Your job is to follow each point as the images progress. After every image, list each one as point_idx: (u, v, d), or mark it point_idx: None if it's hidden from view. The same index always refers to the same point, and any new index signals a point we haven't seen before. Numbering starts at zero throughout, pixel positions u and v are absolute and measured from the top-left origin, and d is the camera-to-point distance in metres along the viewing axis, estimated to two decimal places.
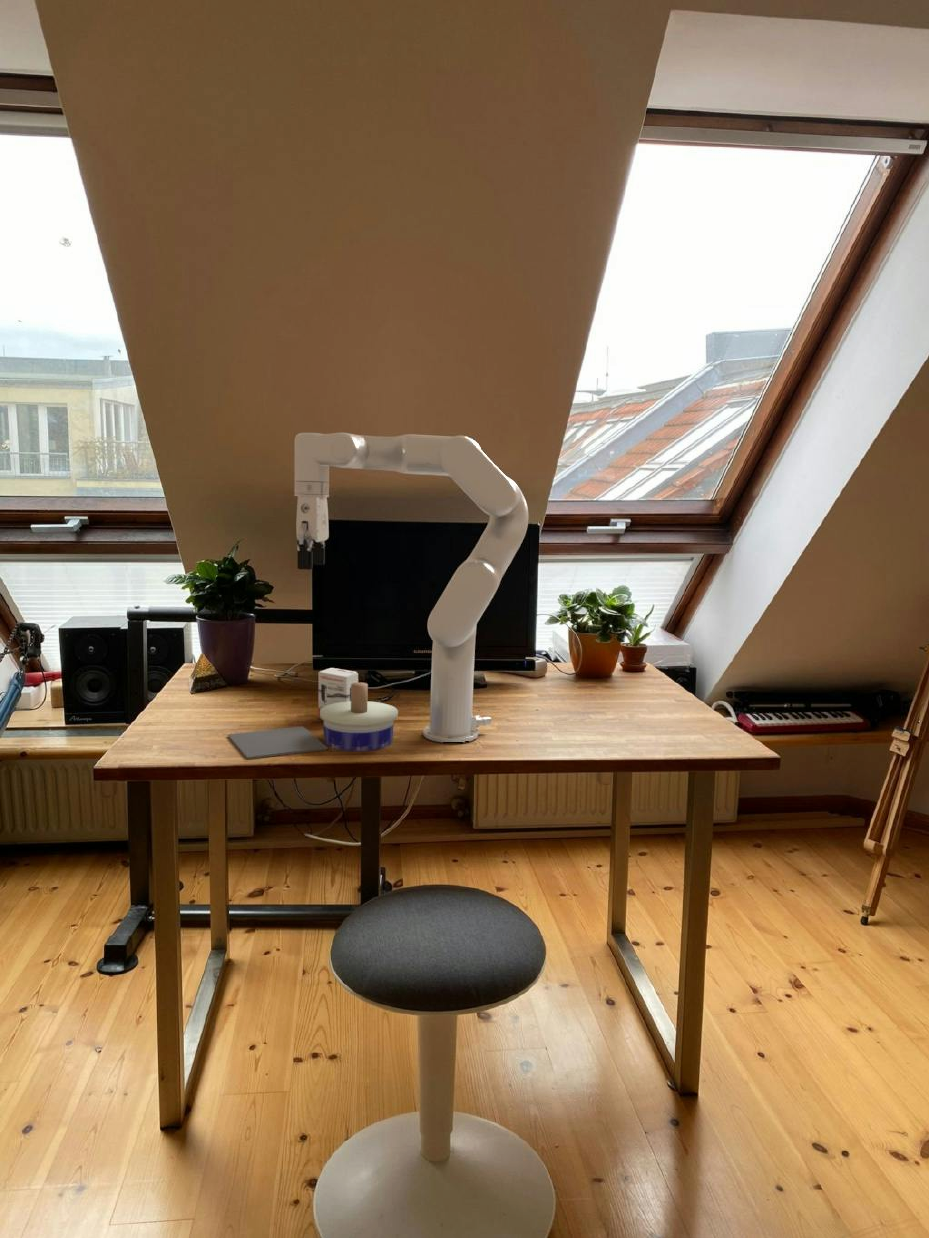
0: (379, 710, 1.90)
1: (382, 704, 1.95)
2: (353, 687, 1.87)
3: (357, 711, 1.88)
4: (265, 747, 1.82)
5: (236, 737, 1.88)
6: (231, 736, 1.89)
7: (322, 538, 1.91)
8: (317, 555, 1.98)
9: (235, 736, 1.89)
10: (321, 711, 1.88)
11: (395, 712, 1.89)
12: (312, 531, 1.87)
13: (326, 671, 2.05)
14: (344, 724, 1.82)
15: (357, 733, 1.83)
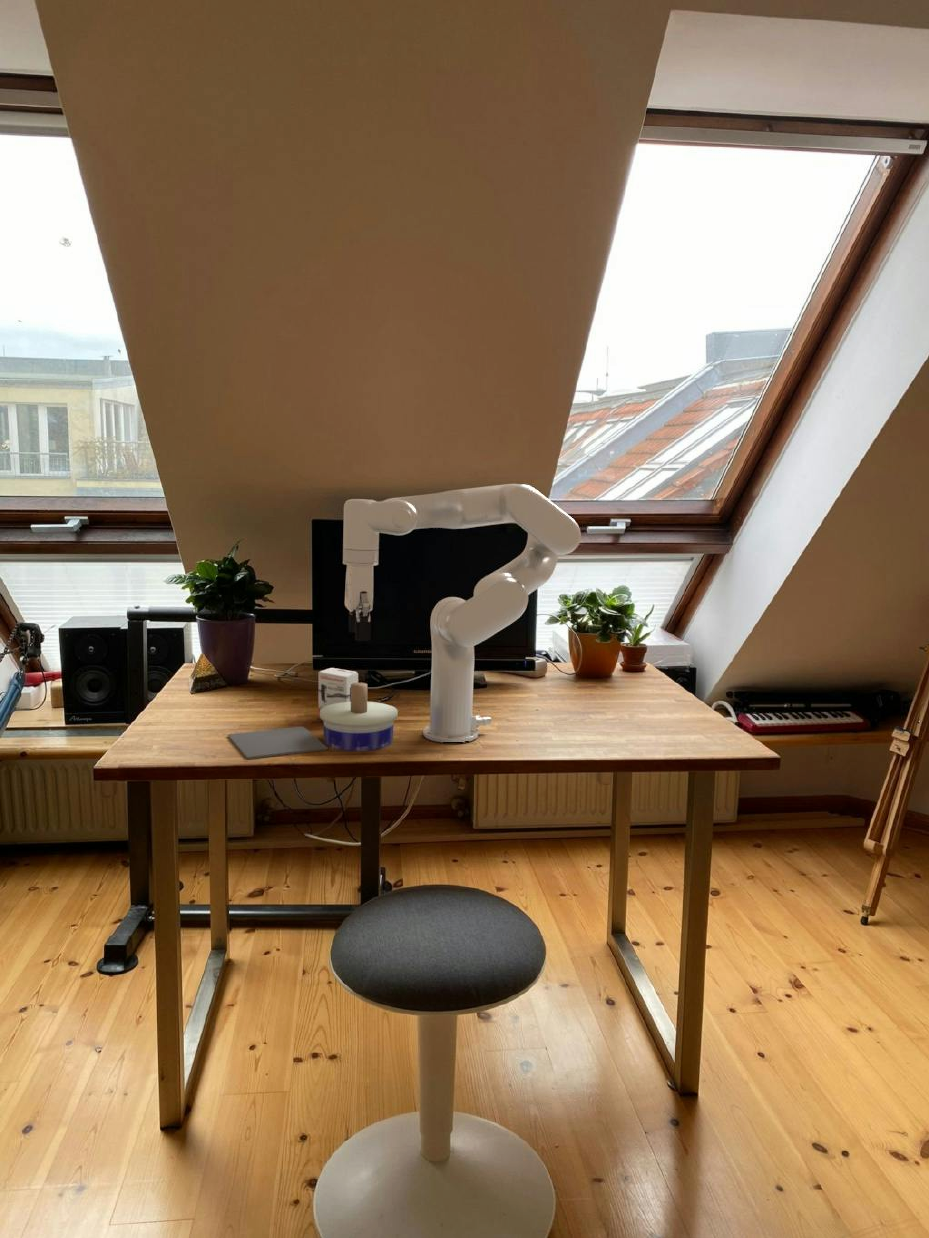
0: (378, 711, 1.90)
1: (382, 705, 1.95)
2: (353, 687, 1.87)
3: (357, 711, 1.88)
4: (265, 747, 1.82)
5: (236, 737, 1.88)
6: (231, 736, 1.89)
7: (346, 605, 1.86)
8: None
9: (235, 736, 1.89)
10: (321, 711, 1.88)
11: (395, 712, 1.89)
12: None
13: (326, 671, 2.05)
14: (344, 724, 1.82)
15: (357, 733, 1.83)
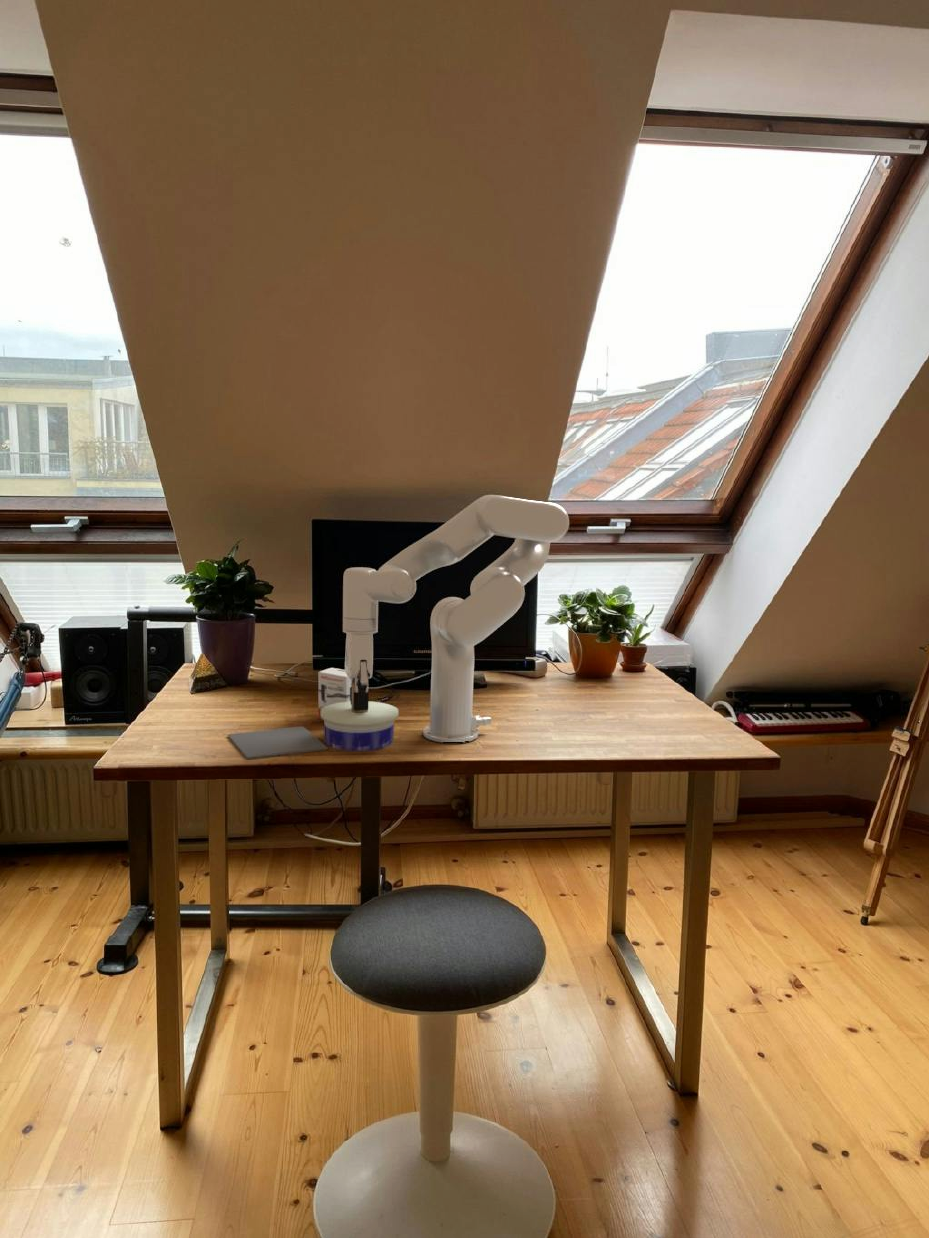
0: (379, 710, 1.90)
1: (382, 704, 1.95)
2: (354, 687, 1.87)
3: (358, 711, 1.88)
4: (265, 747, 1.82)
5: (236, 737, 1.88)
6: (231, 736, 1.89)
7: (346, 671, 1.89)
8: None
9: (235, 736, 1.89)
10: (322, 711, 1.88)
11: (396, 712, 1.90)
12: None
13: (326, 671, 2.05)
14: (345, 724, 1.82)
15: (358, 733, 1.83)
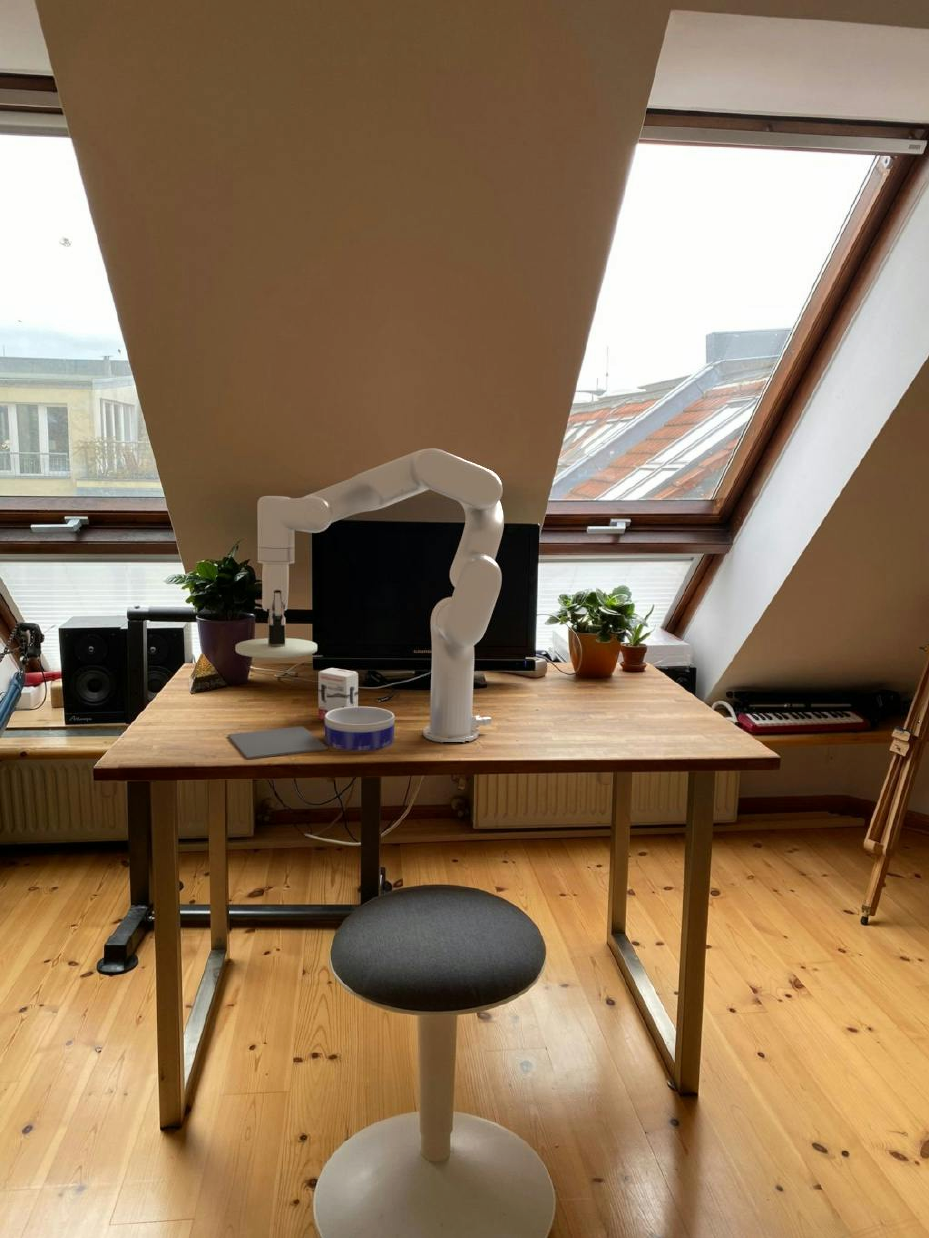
0: (297, 645, 1.84)
1: (302, 641, 1.89)
2: None
3: (274, 645, 1.82)
4: (265, 747, 1.82)
5: (236, 737, 1.88)
6: (231, 736, 1.89)
7: (262, 604, 1.82)
8: None
9: (235, 736, 1.89)
10: (237, 645, 1.82)
11: (314, 646, 1.83)
12: None
13: (326, 671, 2.05)
14: (258, 656, 1.76)
15: (359, 732, 1.83)
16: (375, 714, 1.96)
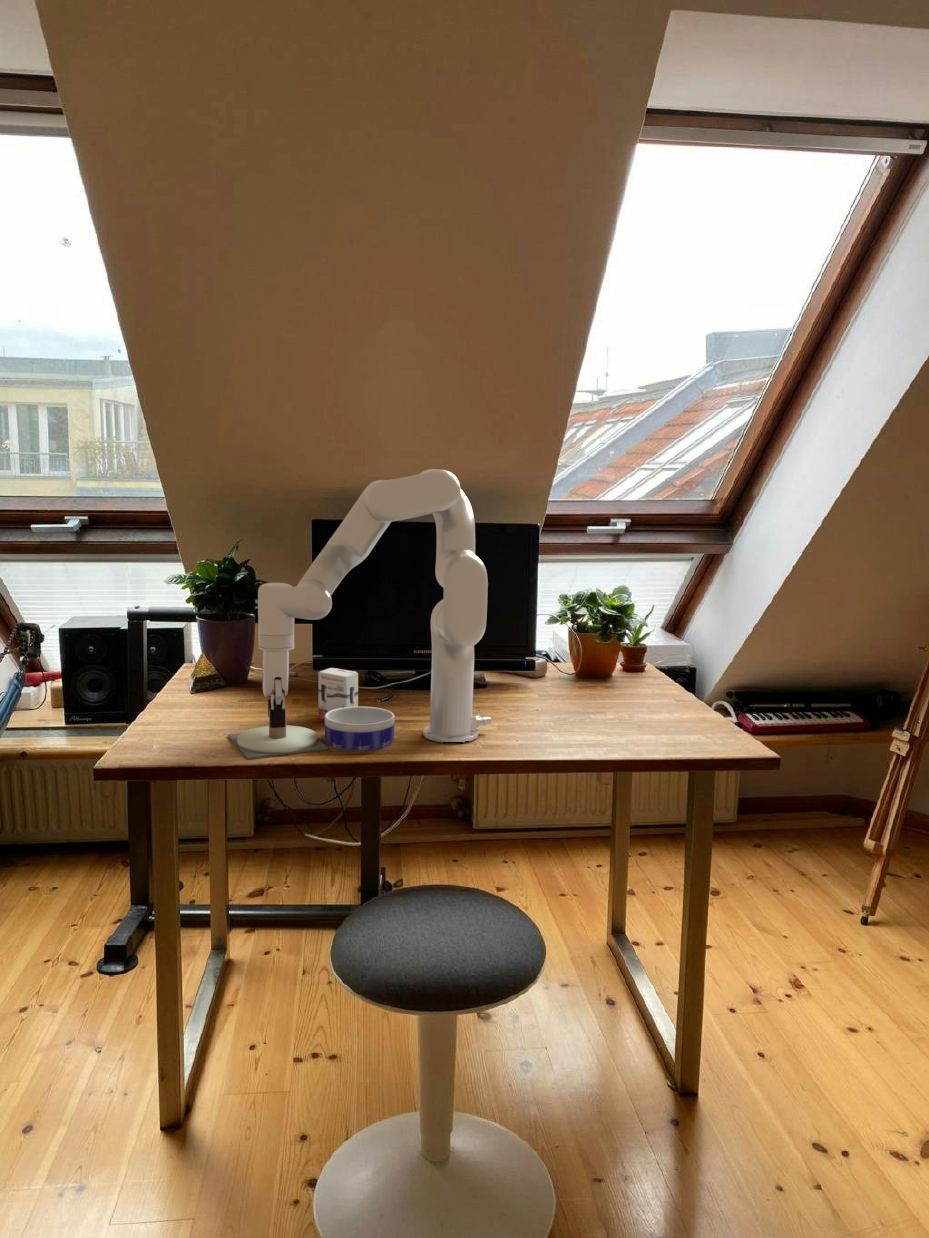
0: (298, 736, 1.87)
1: (303, 729, 1.92)
2: None
3: (275, 737, 1.85)
4: None
5: (236, 737, 1.88)
6: (231, 736, 1.89)
7: None
8: None
9: (235, 736, 1.89)
10: (238, 737, 1.85)
11: (314, 737, 1.87)
12: None
13: (326, 671, 2.05)
14: (259, 751, 1.79)
15: (359, 732, 1.83)
16: (375, 714, 1.96)
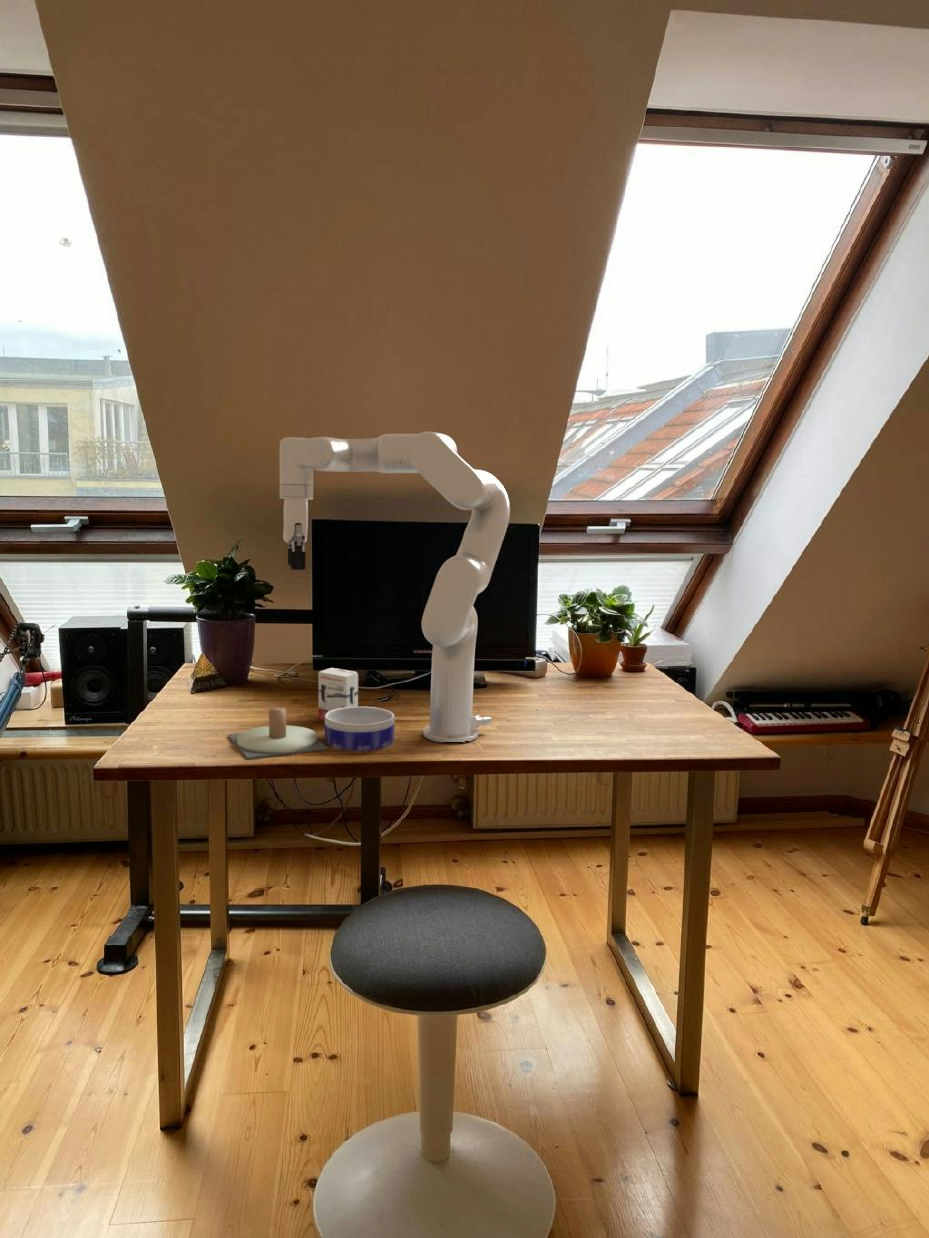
0: (298, 736, 1.87)
1: (303, 729, 1.92)
2: (270, 712, 1.85)
3: (275, 737, 1.85)
4: None
5: (236, 737, 1.88)
6: (231, 736, 1.89)
7: None
8: None
9: (235, 736, 1.89)
10: (238, 737, 1.85)
11: (314, 737, 1.87)
12: None
13: (326, 671, 2.05)
14: (259, 751, 1.79)
15: (359, 732, 1.83)
16: (375, 714, 1.96)
